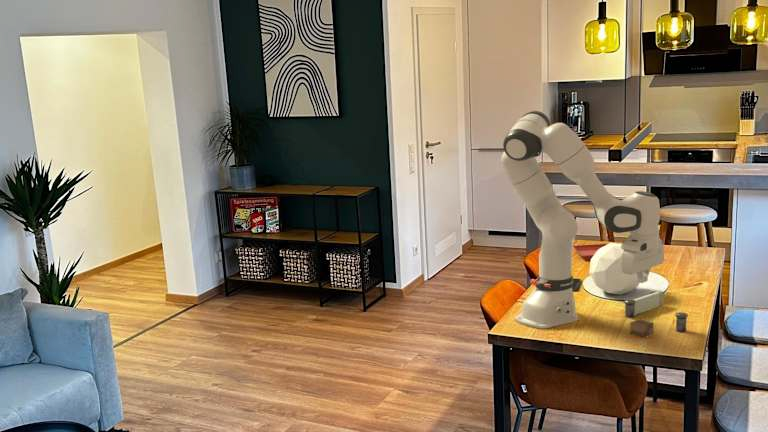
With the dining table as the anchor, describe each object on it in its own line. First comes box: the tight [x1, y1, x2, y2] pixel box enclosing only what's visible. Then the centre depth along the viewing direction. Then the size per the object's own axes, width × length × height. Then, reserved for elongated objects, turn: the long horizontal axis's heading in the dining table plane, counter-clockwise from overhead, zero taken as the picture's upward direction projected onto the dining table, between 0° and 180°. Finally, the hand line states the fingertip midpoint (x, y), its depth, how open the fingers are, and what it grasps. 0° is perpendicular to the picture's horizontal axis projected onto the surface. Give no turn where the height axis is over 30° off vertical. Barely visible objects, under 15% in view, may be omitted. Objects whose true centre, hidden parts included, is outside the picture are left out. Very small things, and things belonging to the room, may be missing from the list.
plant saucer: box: [573, 243, 609, 261], centre depth 320 cm, size 18×18×3 cm
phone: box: [572, 277, 582, 293], centre depth 279 cm, size 8×1×15 cm
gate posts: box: [623, 298, 688, 333], centre depth 234 cm, size 4×23×6 cm, turn 37°
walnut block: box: [629, 318, 655, 339], centre depth 226 cm, size 5×5×4 cm
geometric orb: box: [588, 242, 639, 296], centre depth 266 cm, size 19×20×20 cm
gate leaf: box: [633, 290, 664, 316], centre depth 246 cm, size 1×15×5 cm, turn 123°
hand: (642, 281), depth 231 cm, fingers closed
